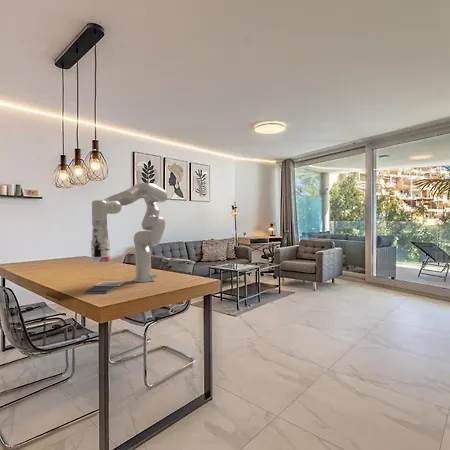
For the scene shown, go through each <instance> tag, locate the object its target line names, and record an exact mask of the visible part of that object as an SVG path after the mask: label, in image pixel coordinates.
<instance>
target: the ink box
mask: <svg viewBox="0 0 450 450" xmlns="http://www.w3.org/2000/svg"><path fill="white" fill-rule="evenodd" d="M96 244H99V243H96ZM90 245H91V249H90V250H91V251H90V252H91V253H90V254H91V263H100V262H101V263H102V262H104V263H108V262H110V261H111V251H110V250H111V249H110V246H111V245H110V239H108V240H103V244H100V249H101V257H95V256H94V246H93V242H92V240H91V241H90Z"/></svg>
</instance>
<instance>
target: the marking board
mask: <svg viewBox="0 0 450 450" xmlns="http://www.w3.org/2000/svg"><path fill="white" fill-rule="evenodd" d="M125 283H127V281H126V280H125V281H123V280H121V281H120V280H119V281H118V280H115V281H114V280H113V281H111V280H110V281H109V280H108V281H105V280H102V281H101V282H99V283H96V284H94V285H93V287H94V286H114V287H120V286H121V285H124V284H125Z"/></svg>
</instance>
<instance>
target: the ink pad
mask: <svg viewBox="0 0 450 450" xmlns="http://www.w3.org/2000/svg"><path fill="white" fill-rule="evenodd" d="M116 287H117V286H94V285H93V286H92V287H90V288H89V289H88V288H87V289H86V290H85V291H84V294H85V295H95V294H96V295H98V294H99V295H100V294H101V295H104V294H105V295H107V294H109V293H111V292H112V291H114V290H116Z"/></svg>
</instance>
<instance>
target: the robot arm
mask: <svg viewBox="0 0 450 450" xmlns="http://www.w3.org/2000/svg"><path fill="white" fill-rule="evenodd" d="M141 198H143V200H144V203H145V204H146V211H145V213H144V216H143V218H142V222H141V228H142V229H143V230H140V231H137V232H136V233H134V236H133V243H134V249H135V277H134V278H133V279H132V281H133V282H135V283H147V282H149V283H150V282H152V281H154V278H155V279H157V278H158V274H153V272H152V252H151V248H150V247H156V246H158V245H159V244H160V243H161V240H162V236H163V234H164V232H165V227H166V220H165V218H164V217H162V216H160V208H159V206H158V204H159V203H164V202H166V201H167V200H168V193H167V191H166V190H165V189H164V188H162V187H160V186H158V185H156V184H155V183H152V182H141V183H137V184H135V185H132V186H131V187H129V188H128V189H125V190H124V191H121V192H118V193H116V194H112V195H110V196H108V197H106V198H104V199H101V200H100V199H96V200H92V202H91V226H92V232H91V233H92V234H91V237H92V238H91V241H92V242H93V246H94V256H95V257H101V249H100V244H103V240H109V232H108V231H109V230H108V215H116V214H119V213H120V212H121V211H122V207H123V206H128V205H132V204H133V203H135V202H136V201H138V200H140V199H141ZM96 243H99V244H96Z"/></svg>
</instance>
